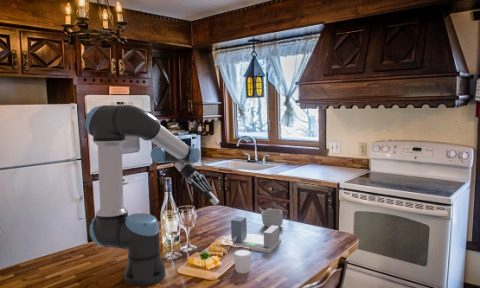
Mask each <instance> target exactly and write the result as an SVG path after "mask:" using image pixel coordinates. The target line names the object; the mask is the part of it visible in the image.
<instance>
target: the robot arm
mask: <svg viewBox="0 0 480 288" xmlns="http://www.w3.org/2000/svg"><path fill="white" fill-rule="evenodd" d="M85 118H86V119H85V121H84V122H85V129H86V131H87V133H88V135H90V136H92V142H93V143H94V144H95V145H96V146H97V161H98V163H97V164H98V190H99V192H98V193H99V209H98V210H97V211H96V212H95V216H94V217H93V219H92V220H91V223H90V225H89V237H90V238H91V240H92V241H93V243H95V244H96V245H98V246H101V247H104V248H115V249H123V250H127V261H126V266H125V270H124V273H123V275H124V276H123V277H124V283H126V284H127V285H129V286H132V287H147V286H151V285H154V284H157V283H159V282H161V281H162V280H163V279H165V277H166V275H167V271H166V266H165V264H164V261H163V259H162V256H161V252H160V251H161V246H160V227H159V221H158V219H157V217H156V216H154V215H152V214H149V213H141V212H140V213H138V212H137V213H132V214H129V209H127V208H125V205H124V181H123V179H124V178H123V154H122V153H123V150H122V149H123V146H122V145H123V144H124V143H125V142H126V138H127V137H134V138H135V137H136V138H139V139H141V140H142V141H148V142H149V141H150V142H151V143H152V144H154V145H156V146H154V147H153V148H152V149H151V151H150V158H151V160H152V162H154V163H158V164H159V163H171V164H172V165H173V166H174V167H175V168H176V169H177V171H178V172H180V175H182V177H184V178H186V179H187V181H186V184H188V185H189V186H190V187H192V189H194V190H195V191H196V192H197V193H198V194H200V196H202V197H206V198H207V199H208V200H209V201H210V203H211V204H213V206H214V207H215V206H217V204H218V203H219V202H220V200H219V199H217V197H216V196H215V195H214V193H213V192H212V191H213V187H211V185H210V183H209V182H208V180H207V178H206V177H205V174H204V173H201V174H200V173H199V172H198V171H197V166H195V163H198V162H199V160H200V156H201V151H200V149H199V147H197V146H191V145H190V146H189V145H188V144H186V143H185V142H184V141H183V140H182V139H180V138H178V137H177V136H176V135H174V134H173V133H172V132H171V131H170V130H168V129H167V128H166V127H164V126H163V125H161V121H160V120H159V119H158V118H157V117H156V116H154V115H152V114H151V113H150V112H148V111H146V110H144V109H142V108H140V107H139V106H136V105H135V106H134V105H130V104H123V105H121V104H119V105H118V104H117V105H113V104H112V105H106V104H105V105H98V106H95V107H93V108H91V109H90V111H89V112H88V113H87V114H86V116H85Z"/></svg>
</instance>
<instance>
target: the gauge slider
mask: <svg viewBox="0 0 480 288" xmlns="http://www.w3.org/2000/svg"><path fill="white" fill-rule="evenodd" d="M230 230H231V231H230V232H231V234H230V235H231V237H232V240H231V241H232V242H234V241H235V240H243V239H244V238H245V237H246V236H247V233H248V228H247V217H246V216H245V217H244V216H237V215H236V216H235V217H233V218H231V220H230Z"/></svg>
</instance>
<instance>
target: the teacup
mask: <svg viewBox="0 0 480 288" xmlns="http://www.w3.org/2000/svg"><path fill="white" fill-rule="evenodd" d="M283 213H284V212H283V211H282V210H281V209H278V208H267V209H265V210H263V211H261V220H262V224H263V225H264V226H263V227H266V228H267V229H268V228H269V227H270V226H272V225H275V226H279V227H280V226H282V224H283V222H284V221H283V220H284V219H283V218H284V217H283Z"/></svg>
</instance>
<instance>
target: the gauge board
mask: <svg viewBox="0 0 480 288" xmlns="http://www.w3.org/2000/svg"><path fill="white" fill-rule="evenodd" d="M227 237H229V238H230V239H232V237H231V234H229V235H228V236H227ZM281 242H282V238H281V237H280V226H275V225H272V226H270V227H269V228H267V229H266V230H265V231H263V235H262V234H261V235H260V234H255V233H254V234H253V233H248V232H247V236H246V237H245V238H244V239H243V240H235V241H234V242H233V245H236V246H242V247H249V248H250V249H251V250H250V251H256V252H262V253H268V254H269V253H270V254H271V252H272V251H273V250H274V249H275V248H276V247H277V246H279V244H280V243H281Z"/></svg>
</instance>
